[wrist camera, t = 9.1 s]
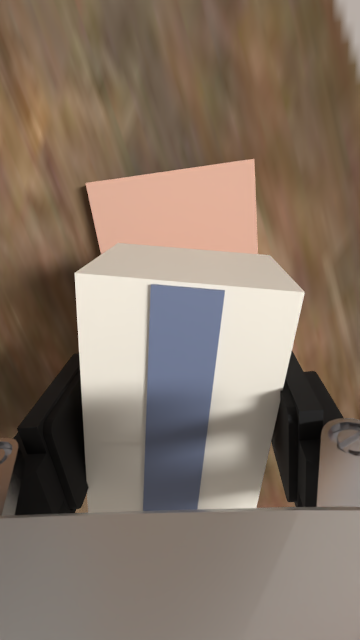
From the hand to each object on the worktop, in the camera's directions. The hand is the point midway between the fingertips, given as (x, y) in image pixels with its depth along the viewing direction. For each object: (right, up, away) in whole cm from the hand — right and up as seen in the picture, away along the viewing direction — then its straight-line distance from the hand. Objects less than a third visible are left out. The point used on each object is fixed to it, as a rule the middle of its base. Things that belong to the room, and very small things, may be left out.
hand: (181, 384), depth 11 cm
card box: (0, 0, +1) cm, 1 cm away
